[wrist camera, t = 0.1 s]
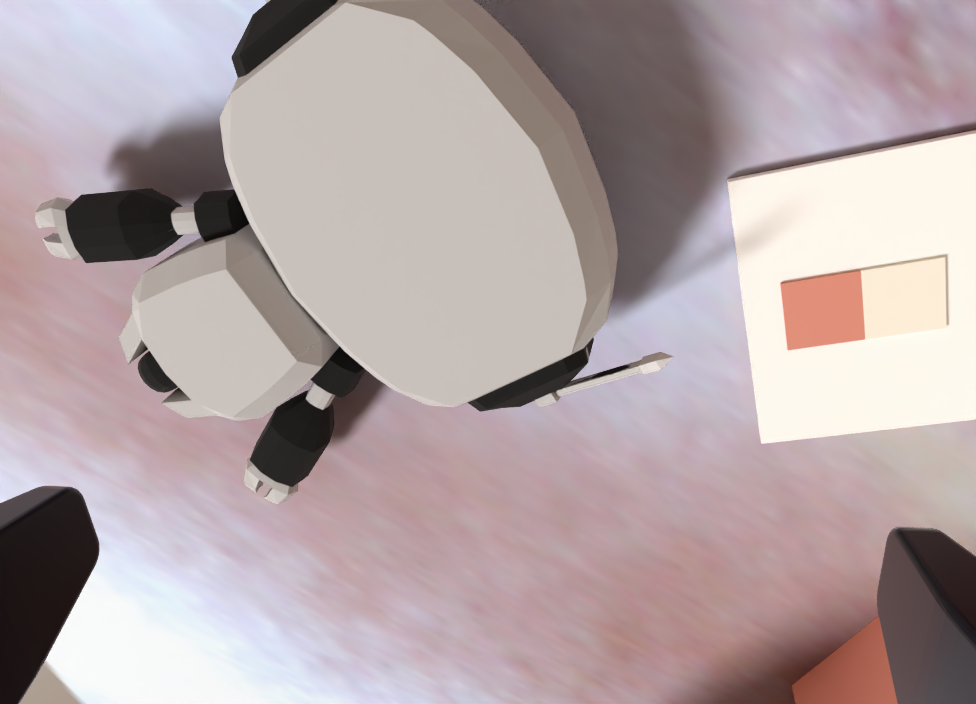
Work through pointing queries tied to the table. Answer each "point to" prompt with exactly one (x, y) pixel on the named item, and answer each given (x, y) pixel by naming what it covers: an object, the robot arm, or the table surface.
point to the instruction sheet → (861, 289)
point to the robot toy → (368, 231)
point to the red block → (851, 673)
